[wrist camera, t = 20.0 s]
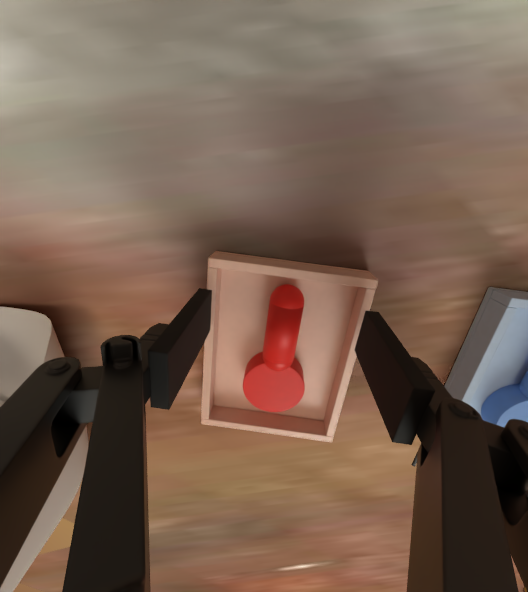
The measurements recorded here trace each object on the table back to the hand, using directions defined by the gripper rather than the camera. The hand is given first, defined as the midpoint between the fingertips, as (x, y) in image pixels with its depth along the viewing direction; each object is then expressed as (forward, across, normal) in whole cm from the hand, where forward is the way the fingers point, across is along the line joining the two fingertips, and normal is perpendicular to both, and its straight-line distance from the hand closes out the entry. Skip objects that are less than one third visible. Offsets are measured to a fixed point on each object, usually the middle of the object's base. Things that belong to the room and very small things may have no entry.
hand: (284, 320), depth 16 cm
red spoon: (+2, 0, -3) cm, 4 cm away
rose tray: (+3, 0, -4) cm, 5 cm away
